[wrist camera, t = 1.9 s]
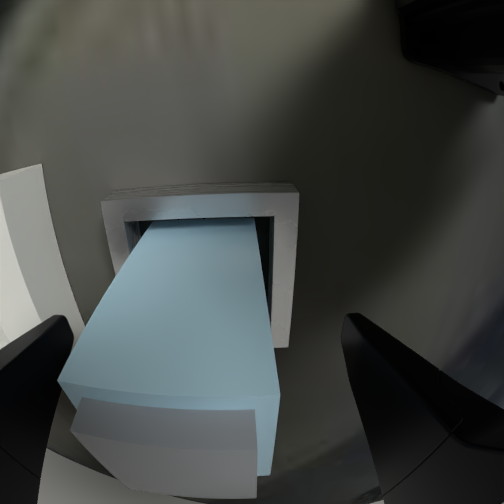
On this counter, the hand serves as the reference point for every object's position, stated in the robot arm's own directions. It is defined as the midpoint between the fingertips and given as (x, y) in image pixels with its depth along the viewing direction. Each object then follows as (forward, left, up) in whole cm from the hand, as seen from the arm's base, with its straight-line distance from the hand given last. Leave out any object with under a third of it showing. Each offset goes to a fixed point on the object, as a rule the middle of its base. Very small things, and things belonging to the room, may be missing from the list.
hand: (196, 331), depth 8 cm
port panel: (+13, 0, -4) cm, 14 cm away
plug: (0, 0, -4) cm, 4 cm away
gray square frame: (0, 0, -4) cm, 4 cm away
